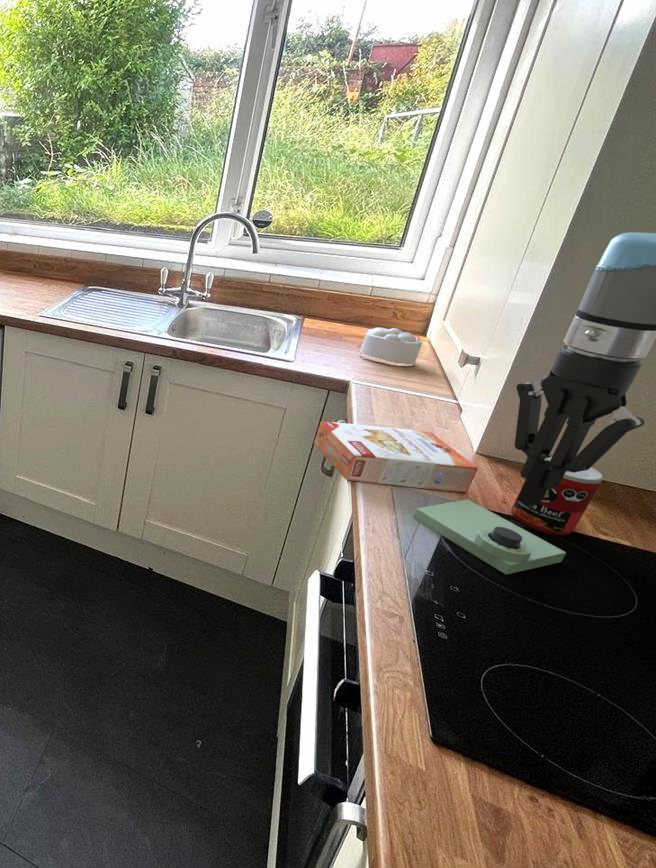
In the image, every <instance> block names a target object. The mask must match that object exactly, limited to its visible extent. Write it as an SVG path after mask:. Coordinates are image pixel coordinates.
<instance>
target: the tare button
mask: <svg viewBox="0 0 656 868" xmlns="http://www.w3.org/2000/svg"><path fill="white" fill-rule="evenodd" d="M490 539H491V540H492V541H494V542H495V543H497V544H499V545H501V546H504V547H507V548H512V549H517V548H518V546H519V545H520V543H521V541H522V536H521V535H520V534H518V533H517V532H515V531H513V530H510V529H508V528H504V527H495V528H494V530H493V532H492V534H491V536H490Z"/></svg>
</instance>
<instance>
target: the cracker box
mask: <svg viewBox="0 0 656 868" xmlns="http://www.w3.org/2000/svg"><path fill="white" fill-rule="evenodd" d="M313 445H314V446H315V447H316V448H317V450H318V451H319V452H320V453H321V454H322V455H323V456H324V457H325V459H327V461H328V462H329V463H330V464H331V465H332V466H333V467H334V468H335V469H336V471H337V472H338V473H339V474H340V475H341V476H342V478H344V480H346V481H353V482H361V483H363V482H364V483H370V484H379V485H389V486H400V487H407V488H417V489H426V490H436V491H445V492H453V493H454V492H455V493H464V494H467V493H468V492H469V489H470V487H471V485H472V482H473V481H474V478H475V476H476V473H477V471H478V469H479V467H478V466H476V465H475V464H473V463H472V462H471V461H469V460H468V459H467V458H465V457H464V456H463V455H461V454H460V453H459V452H457V451H456V450H455V449H453V448H452V447H451V446H450V445H449V444H447V443H446V442H444V441H443V440H442V439H441V438H439V437H438V436H436V435H435V434H434V433H433V432H432V431H428V430H427V431H426V430H415V429H406V428H398V427H397V428H396V427H386V426H377V425H376V426H374V425H364V424H355V423H345V422H335V421H327V420H321V421H320V423H319V425H318V429H317V433H316V435H315V439H314V441H313Z"/></svg>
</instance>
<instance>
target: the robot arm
mask: <svg viewBox="0 0 656 868" xmlns="http://www.w3.org/2000/svg"><path fill="white" fill-rule="evenodd" d="M655 339H656V233H655V232H639V231H638V232H637V231H636V232H633V231H631V232H623V233H620V234H618V235H616V236H615V237H613V238H611V240H610V241H609V242H608V245H607V247H606V248H605V250H604V252H603V254H602V256H601V258H600V260H599V262H598V264H597V265H596V266H595V269H594V271H593V273H592V276H591V278H590V281H589V283H588V285H587V287H586V290H585V293H584V294H583V297H582V299H581V301H580V304H579V306H578V308H577V311H575V315H574V317H573V319H572V321H571V323H570V325H569V328H568V330H567V332H566V334H565V336H564V338H563V343H564V344H565V345H564V346H562V347H560V348H559V349H558V351H557V353H556V355H555V357H554V360H553V362H552V364H551V365H550V371H549V373H548V374H547V375H546V376H544V377H542V378H541V380H540V381H537V382H534V381H531V382H522V383H518V384H516V386H515V387H516V392H517V395H518V399H519V405H518V413H517V422H516V431H515V437H514V448H515V449H516V450H518V451H521V452H523V454H525V455H526V461H525V462H524V465H523V467H522V469H521V471H520V477H521V478H522V479H526V480H524V481H525V483H524V482H523V484H524V485H523V484H522V486H523V487H522V486H521V488H522V489H521V488H520V490H521V491H520V490H519V492H520V493H519V492H518V494H519V495H518V494H517V496H518V497H517V496H516V498H517V499H516V498H515V500H517V501H519V502H521V503H523V504H525V505H527V506H530V505H535V504H540V503H541V502H542V500H543V498H544V496H545V494H546V492H547V490H548V489H554V488H556V487H558V486H559V484H560V482H561V480H562V478H563V476H564V474H565V472H566V471H570V472H573V473H574V472H580V471H585V470H588V469H589V468H591V467H592V468H593V466H594V465H595V464H596V463H597V462H598V461H600V459H601V458H602V457H603V456H604V455H605V454H606V453H608V451H610V449H611V448H612V447H614V446H615V445H616V443H618V441H620V440H621V439H622V438H623V437H624V436H625V435H626V434H627V433H628V432H631V431H633V430H635V429H638V428H640V427H642V426H644V425H645V420H644V418H642V417H639V416H634V414H633V413H631V412H630V411H629V409H628V408H627V407H626V406H627V404H628V399H627V393H628V391H629V390H630V389H631V386H632V385H633V383H634V380H635V378H636V377H637V374H638V373H639V371H640V369H641V367H642V363H641V362H640V360H642V359H646V358H647V356H648V354H649V352H650V350H651V348H652V346H653V344H654V342H655ZM542 396H544V397H545V400H546V402H547V407H546V409H545V411H544V413H543V416H544V418H543V420H542V422H541V424H540V417H541V409H542V408H541V407H542ZM610 414H612V416H611V417H610V418H609V420H608V424H609V425H607V426H605V427H604V428H603V429H601V431H600V432H598V434H597V435H596V436H595V437H594V438H593V439H591V441H590V442H589V443H587V445H585V446H584V448H583V449H582V450H581V451H580V449H581V447H582V445H583V443H584V441H585V439H586V437H587V434H588V433H589V431H590V429H591V427H593V426H594V425H595V423H596V422H597V420H598V419H600V418H601V419H602V418H603V417H605V416H609V415H610ZM539 424H540V426H539ZM565 424H566V427H565V429H564V432H563V433H562V435H561V432H562V430H563V428H564V426H565ZM560 435H561V437H560V439H559V442H558V444H557V445H556V442H557V440H558V438H559V436H560ZM555 445H556V448H555V450H554V452H553V454H552V455H551V453H552V451H553V448H554V446H555ZM549 455H550V456H549ZM551 456H552V458H551V460H550V461H548V460H545V458H550V457H551Z"/></svg>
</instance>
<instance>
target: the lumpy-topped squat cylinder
mask: <svg viewBox="0 0 656 868" xmlns="http://www.w3.org/2000/svg"><path fill="white" fill-rule="evenodd" d="M422 345H423V341H422V340H421V339H419V338H417V337H415V335H413V334H412V333H410V332H408V331H407V332H403V331H402V330H401V329H399V328H396V327H393V328H385V327H380V326H379V327H378V326H377V327H374V328H369V329H368V330H367V332H366V333H365V336H364V339H363V342H362V345H361V348H360V351H359V353H360V352H361V353H363V354H365V355H368V356H371V357H375V358H379V359H383V360H386V361H390V362H395V363H405V364H413V363H415V364H416V361H417V359H418V356H419V354H420V351H421V348H422Z"/></svg>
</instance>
